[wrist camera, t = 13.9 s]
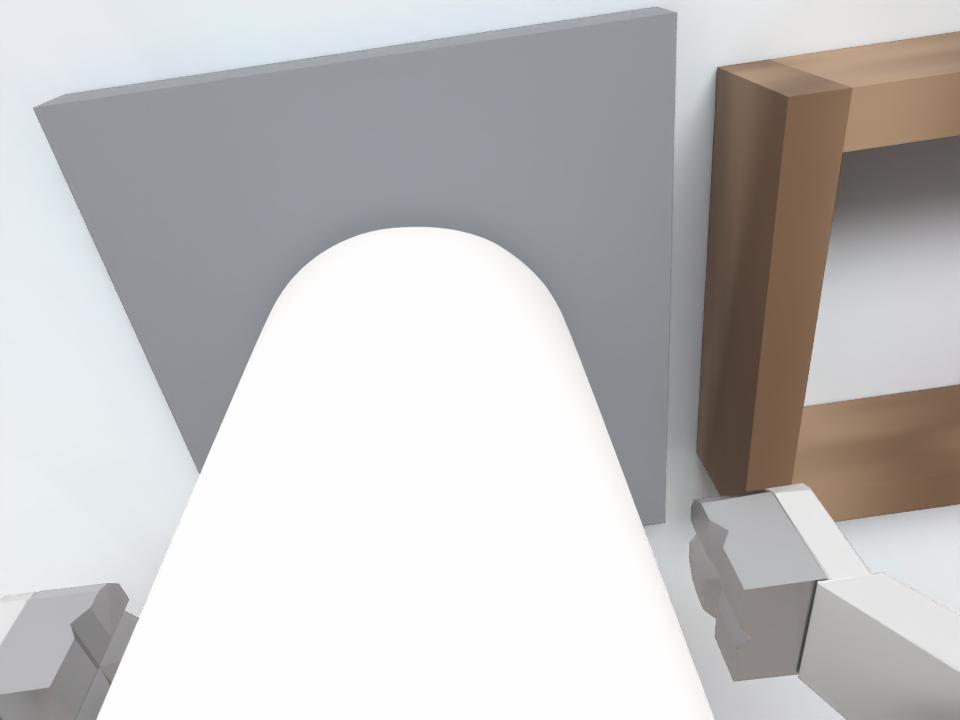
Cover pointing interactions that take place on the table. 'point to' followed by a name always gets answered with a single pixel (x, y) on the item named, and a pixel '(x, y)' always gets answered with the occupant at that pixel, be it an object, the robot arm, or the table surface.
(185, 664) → the can
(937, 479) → the square wooden frame
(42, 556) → the table surface
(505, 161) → the coaster
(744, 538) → the robot arm
